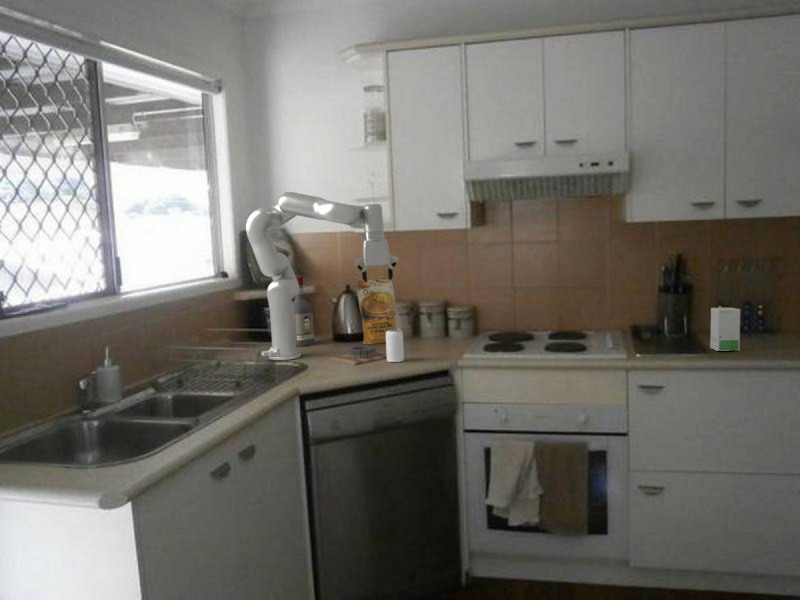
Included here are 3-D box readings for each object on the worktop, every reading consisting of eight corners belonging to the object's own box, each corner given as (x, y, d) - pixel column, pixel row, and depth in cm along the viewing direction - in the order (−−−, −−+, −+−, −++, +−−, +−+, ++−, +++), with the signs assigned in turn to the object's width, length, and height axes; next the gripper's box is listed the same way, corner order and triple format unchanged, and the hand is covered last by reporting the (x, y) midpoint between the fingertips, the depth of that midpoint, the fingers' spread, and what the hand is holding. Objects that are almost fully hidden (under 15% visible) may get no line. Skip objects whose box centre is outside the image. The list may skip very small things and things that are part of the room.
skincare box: (717, 352, 245) (717, 309, 244) (709, 349, 252) (709, 307, 250) (740, 351, 245) (741, 308, 244) (731, 348, 252) (732, 306, 250)
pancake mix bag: (356, 343, 297) (352, 279, 294) (395, 338, 305) (392, 276, 302) (362, 345, 291) (358, 280, 288) (401, 340, 299) (399, 277, 296)
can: (394, 358, 260) (392, 327, 258) (407, 360, 256) (406, 328, 254) (383, 361, 255) (381, 330, 254) (396, 363, 251) (395, 331, 249)
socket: (354, 365, 251) (354, 354, 251) (329, 359, 263) (328, 349, 263) (395, 356, 264) (394, 346, 264) (369, 351, 276) (368, 342, 276)
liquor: (288, 345, 300) (283, 277, 297) (305, 342, 306) (301, 276, 303) (299, 347, 294) (295, 278, 290) (317, 344, 300) (313, 276, 296)
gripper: (353, 238, 256) (357, 283, 258) (398, 234, 259) (401, 279, 261) (350, 238, 263) (354, 282, 265) (394, 234, 266) (397, 278, 268)
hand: (378, 280), depth 263 cm, fingers open, 9 cm apart
